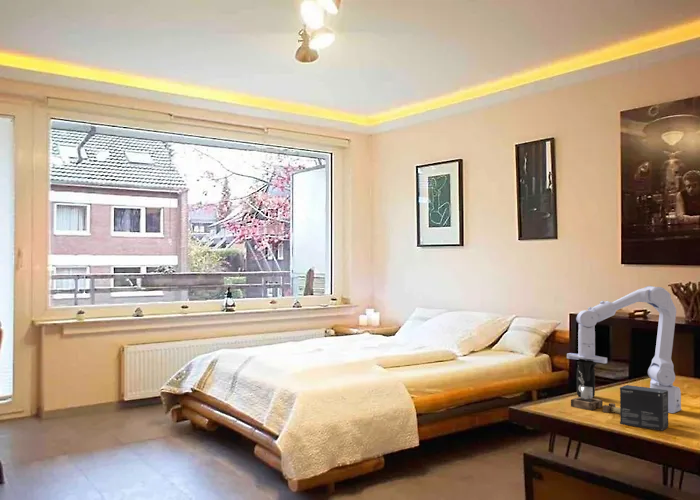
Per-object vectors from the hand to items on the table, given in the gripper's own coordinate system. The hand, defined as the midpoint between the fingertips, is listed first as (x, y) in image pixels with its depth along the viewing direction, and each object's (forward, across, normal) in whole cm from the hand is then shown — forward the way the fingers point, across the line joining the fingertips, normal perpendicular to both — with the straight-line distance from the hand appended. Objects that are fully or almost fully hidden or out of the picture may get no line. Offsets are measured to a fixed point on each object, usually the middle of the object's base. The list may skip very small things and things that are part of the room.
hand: (586, 380), depth 222 cm
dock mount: (+9, +3, 0) cm, 10 cm away
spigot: (+9, 0, 0) cm, 9 cm away
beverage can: (+10, -8, +16) cm, 21 cm away
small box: (+10, +24, -10) cm, 28 cm away
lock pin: (+9, +12, 0) cm, 15 cm away
